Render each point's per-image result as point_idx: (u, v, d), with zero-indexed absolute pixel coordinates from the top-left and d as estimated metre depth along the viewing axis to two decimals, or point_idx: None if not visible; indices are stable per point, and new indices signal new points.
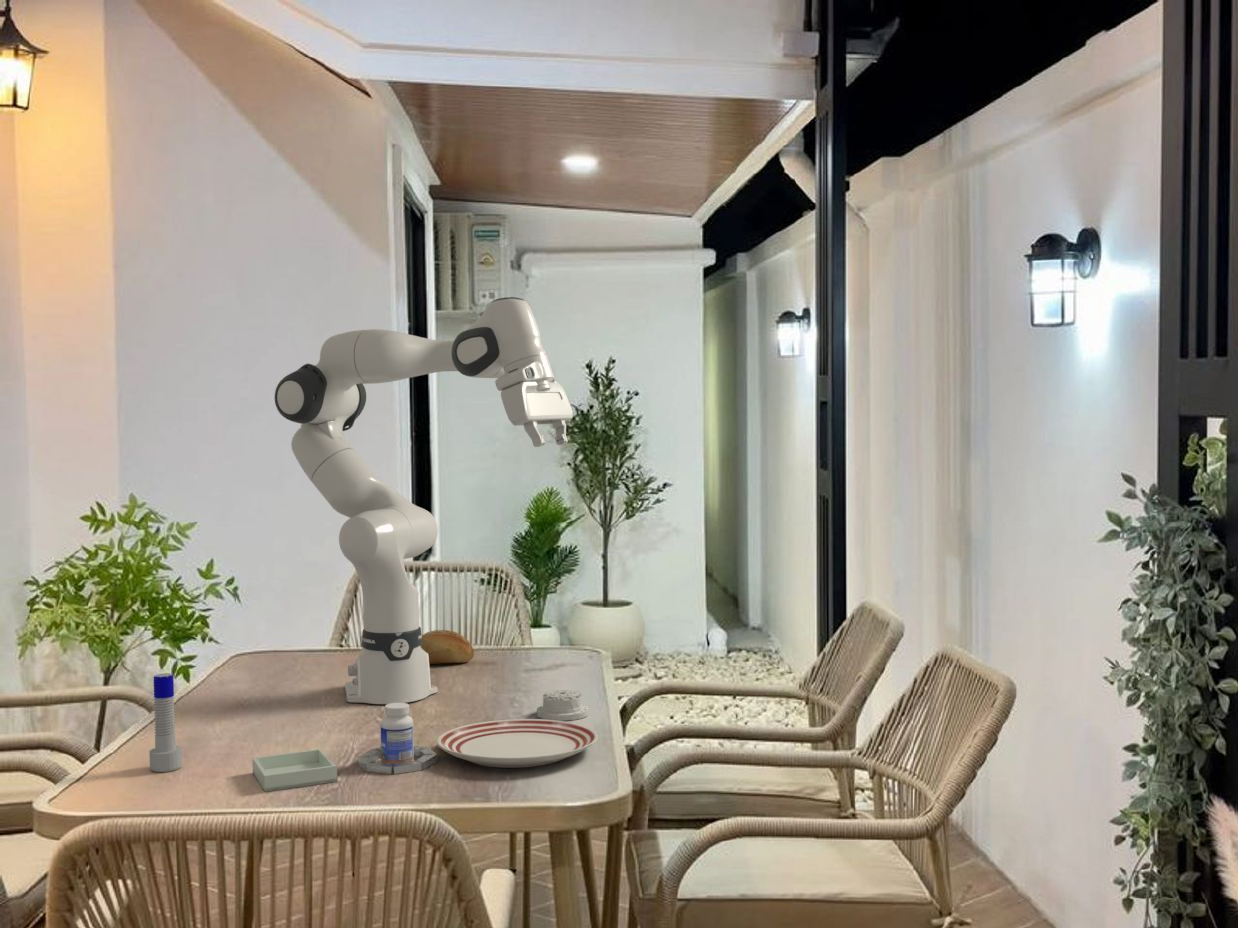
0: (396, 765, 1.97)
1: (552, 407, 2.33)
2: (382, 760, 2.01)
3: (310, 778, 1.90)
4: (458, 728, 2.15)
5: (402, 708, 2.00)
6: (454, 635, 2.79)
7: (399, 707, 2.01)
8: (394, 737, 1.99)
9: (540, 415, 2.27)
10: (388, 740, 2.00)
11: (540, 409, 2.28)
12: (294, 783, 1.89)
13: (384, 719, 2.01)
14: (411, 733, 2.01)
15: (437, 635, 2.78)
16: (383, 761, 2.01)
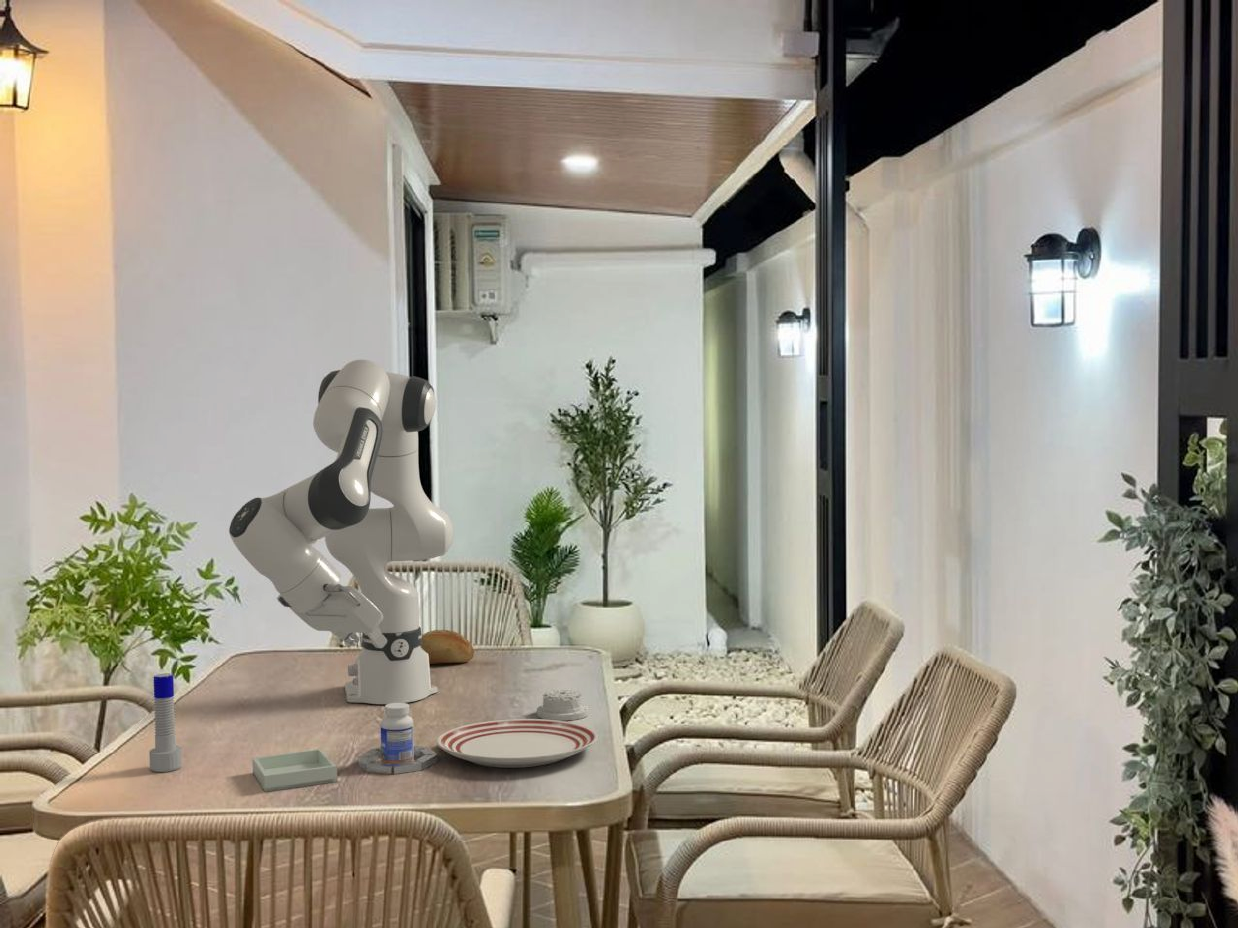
0: (396, 765, 1.97)
1: (337, 623, 1.92)
2: (382, 760, 2.01)
3: (310, 778, 1.90)
4: (458, 728, 2.15)
5: (402, 708, 2.00)
6: (454, 635, 2.79)
7: (399, 707, 2.01)
8: (394, 737, 1.99)
9: (327, 629, 1.97)
10: (388, 740, 2.00)
11: (324, 624, 1.96)
12: (294, 783, 1.89)
13: (384, 719, 2.01)
14: (411, 733, 2.01)
15: (437, 635, 2.78)
16: (383, 761, 2.01)
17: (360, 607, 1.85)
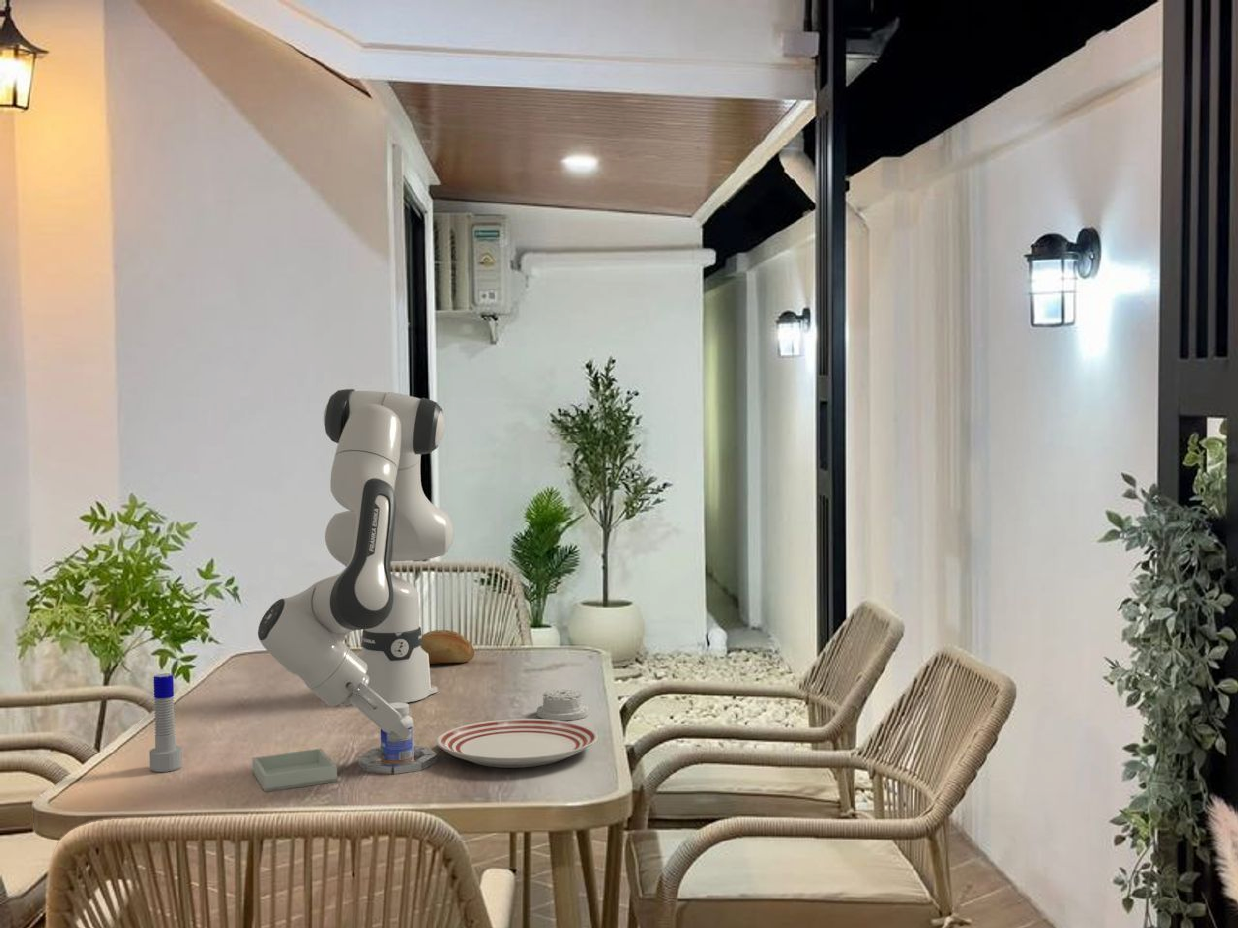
0: (396, 765, 1.97)
1: None
2: (382, 760, 2.01)
3: (310, 778, 1.90)
4: (458, 728, 2.15)
5: (402, 708, 2.00)
6: (454, 635, 2.79)
7: (399, 707, 2.01)
8: (394, 736, 1.99)
9: None
10: (388, 740, 2.00)
11: None
12: (294, 783, 1.89)
13: None
14: (411, 733, 2.01)
15: (437, 635, 2.78)
16: (383, 761, 2.01)
17: (376, 710, 1.90)
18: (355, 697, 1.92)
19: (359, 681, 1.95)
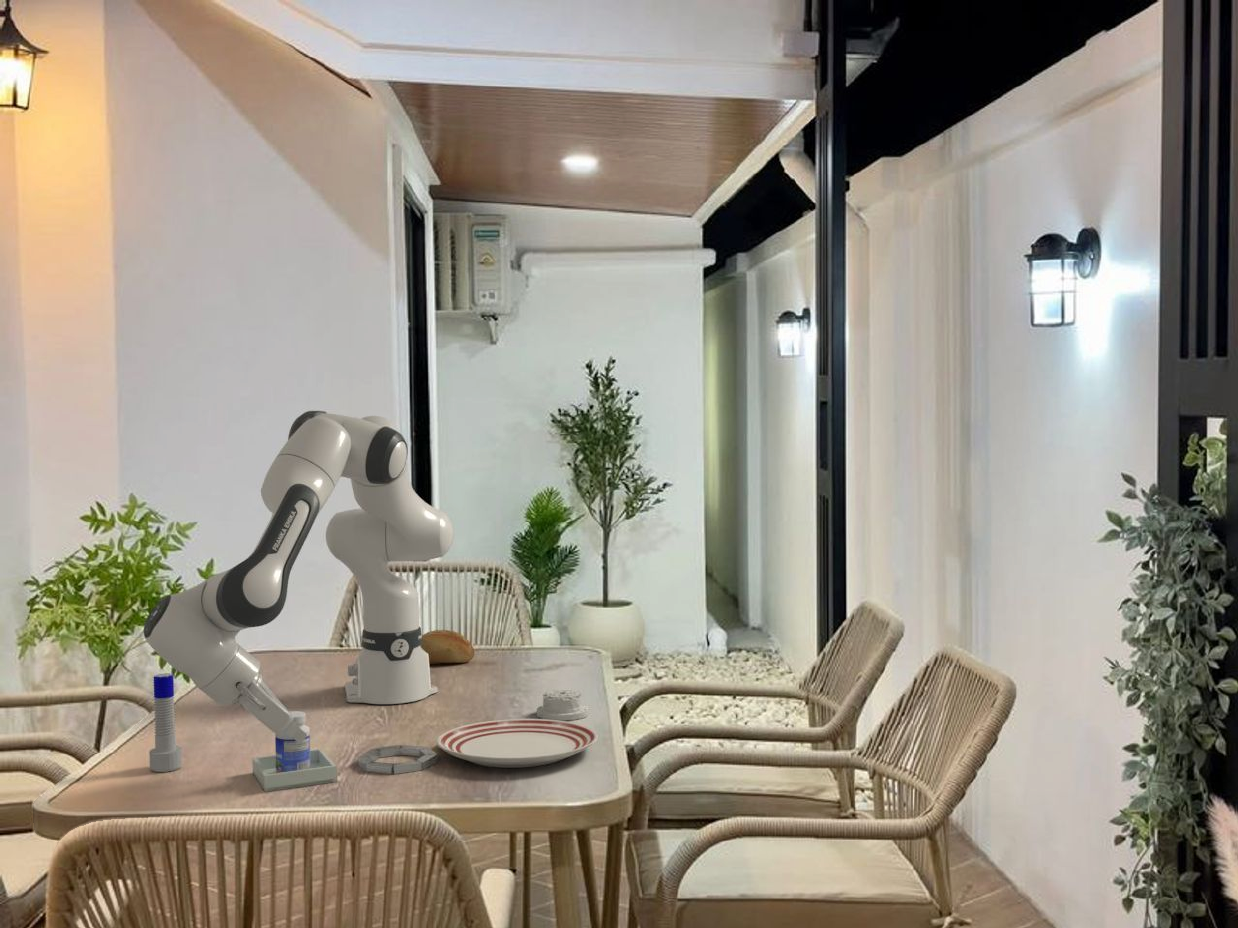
0: (396, 765, 1.97)
1: None
2: (278, 772, 1.93)
3: (310, 778, 1.90)
4: (458, 728, 2.15)
5: (299, 716, 1.93)
6: (454, 635, 2.79)
7: (296, 716, 1.93)
8: (292, 747, 1.92)
9: None
10: (286, 750, 1.92)
11: None
12: (294, 783, 1.89)
13: None
14: (308, 742, 1.95)
15: (437, 635, 2.78)
16: None
17: (265, 711, 1.83)
18: (244, 697, 1.84)
19: (250, 680, 1.87)
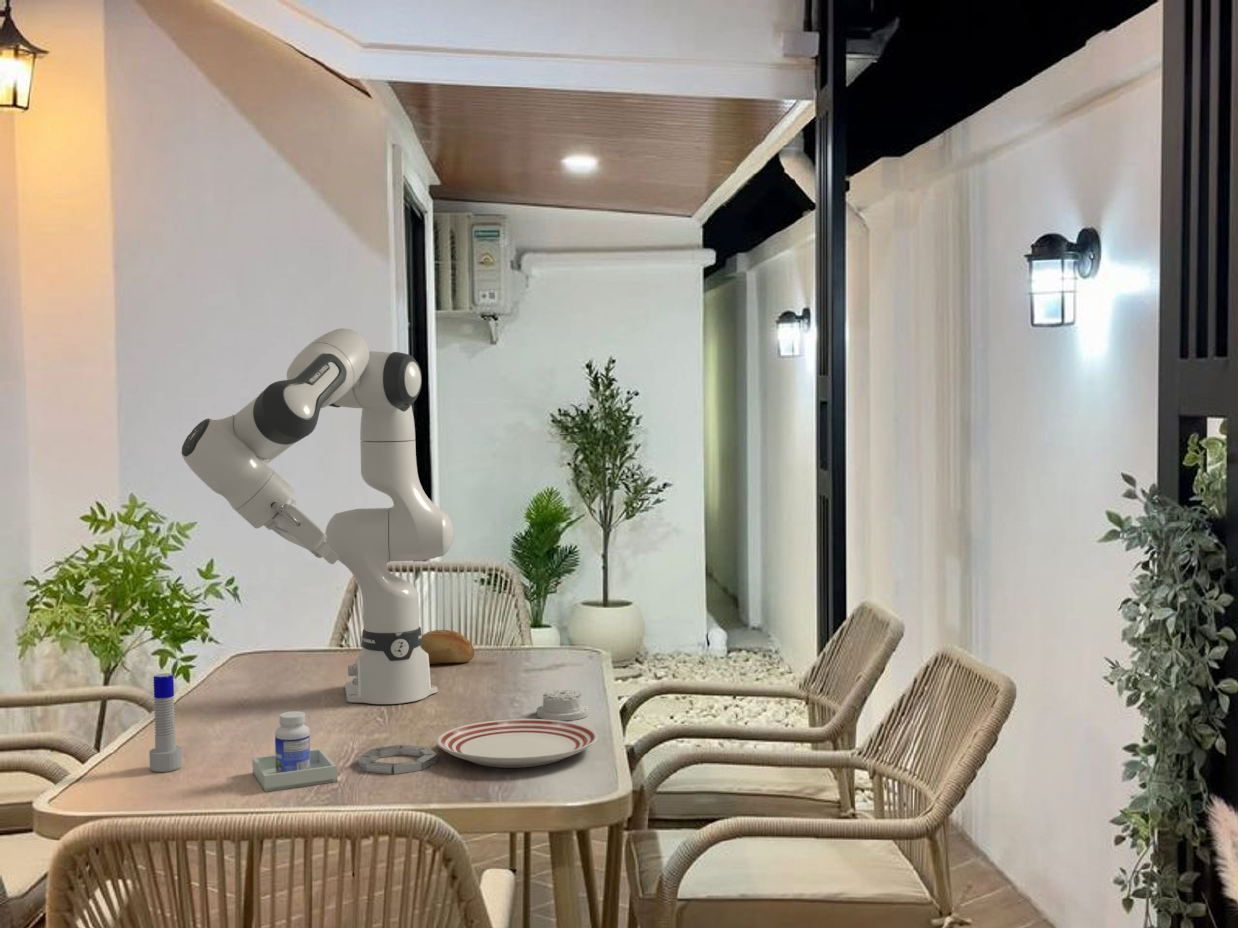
0: (396, 765, 1.97)
1: (292, 539, 1.98)
2: (278, 772, 1.93)
3: (310, 778, 1.90)
4: (458, 728, 2.15)
5: (299, 717, 1.93)
6: (454, 635, 2.79)
7: (296, 716, 1.93)
8: (291, 747, 1.92)
9: (291, 541, 2.04)
10: (285, 751, 1.92)
11: (287, 537, 2.02)
12: (294, 783, 1.89)
13: (279, 729, 1.93)
14: (308, 742, 1.94)
15: (437, 635, 2.78)
16: None
17: (300, 527, 1.90)
18: (279, 515, 1.92)
19: (284, 502, 1.95)
